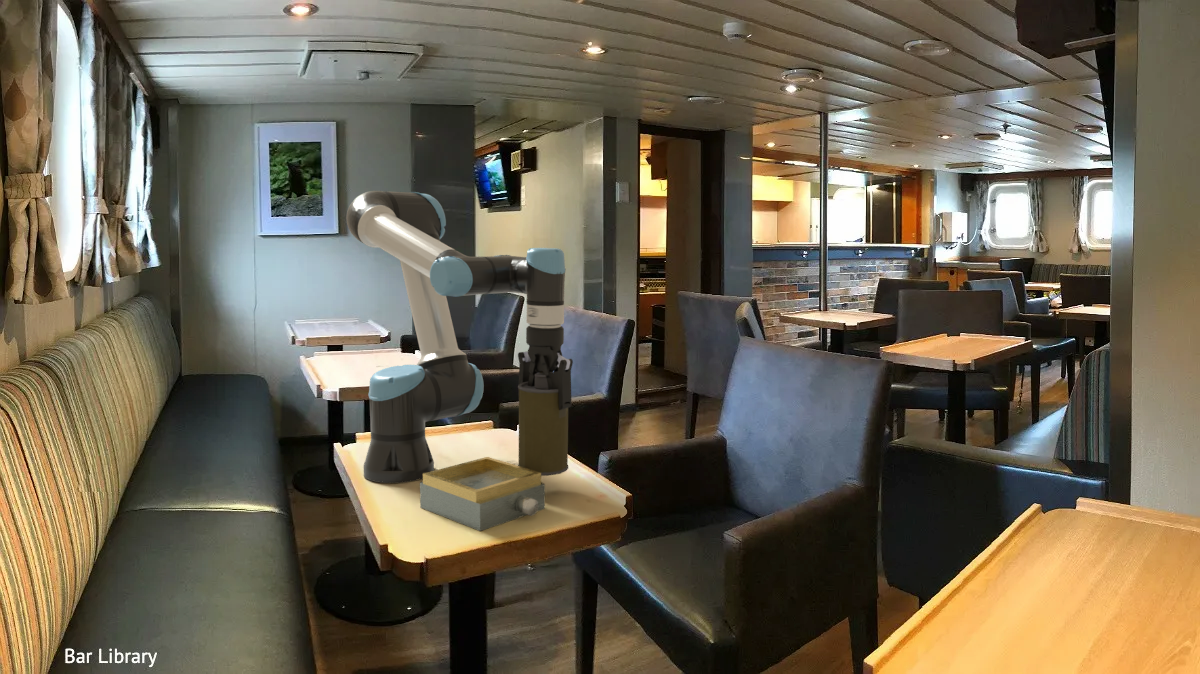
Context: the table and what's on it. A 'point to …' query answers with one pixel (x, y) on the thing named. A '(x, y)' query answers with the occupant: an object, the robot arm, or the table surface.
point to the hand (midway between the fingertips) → (543, 437)
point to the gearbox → (482, 492)
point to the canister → (542, 428)
